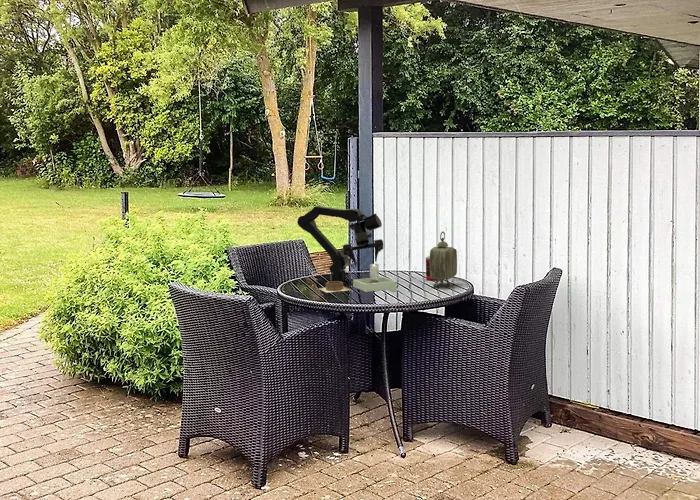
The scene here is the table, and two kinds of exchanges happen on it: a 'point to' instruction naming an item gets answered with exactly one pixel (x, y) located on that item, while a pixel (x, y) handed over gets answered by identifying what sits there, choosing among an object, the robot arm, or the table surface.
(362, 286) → the bin
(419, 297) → the table surface
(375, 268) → the spice shaker
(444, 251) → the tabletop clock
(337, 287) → the socket block
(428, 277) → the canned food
